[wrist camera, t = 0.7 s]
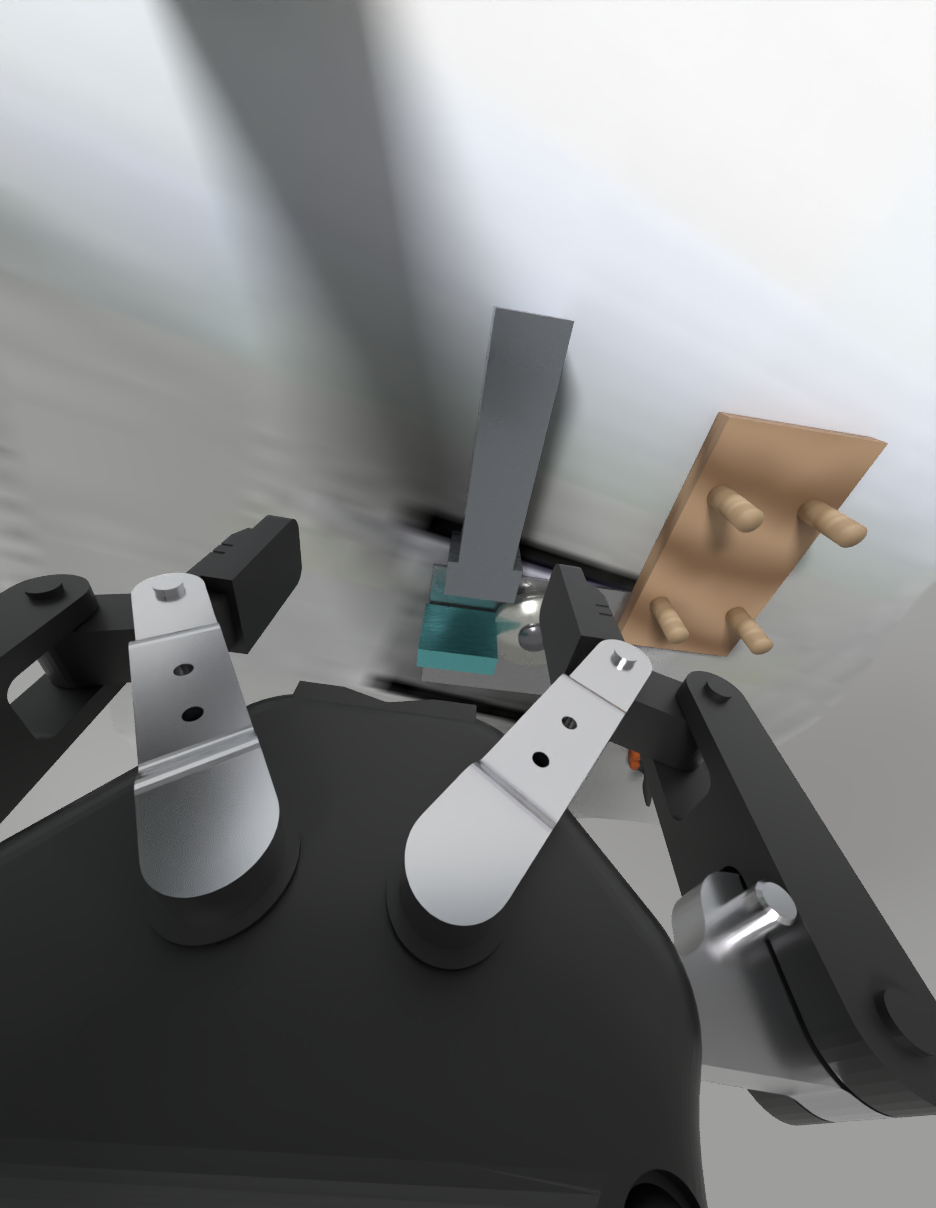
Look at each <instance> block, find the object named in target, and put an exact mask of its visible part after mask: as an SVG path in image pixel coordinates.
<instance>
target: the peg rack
mask: <svg viewBox="0 0 936 1208" xmlns="http://www.w3.org/2000/svg"><path fill="white" fill-rule="evenodd" d="M887 444H888V443H886V442H883V441H880V440H877V439H874V438H872V437H867V436H861V435H855V434H849V433H843V432H837V431H831V430H825V429H819V428H813V427H806V426H800V425H794V424H788V423H782V422H776V421H770V420H764V419H758V418H752V417H746V416H740V415H734V414H728V413H722V412H719V413H718V415H717V417H716V419H715V421H714V423H713V425H712V427H711V429H710V431H709V433H708V435H707V437H706V440H705V442H704V444H703V446H702V448H701V450H700V452H699V454H698V456H697V458H696V460H695V462H694V464H693V466H692V468H691V471H690V473H689V475H688V477H687V479H686V481H685V483H684V485H683V487H682V489H681V491H680V493H679V495H678V497H677V499H676V501H675V504H674V506H673V508H672V510H671V512H670V514H669V516H668V518H667V520H666V522H665V524H664V526H663V528H662V530H661V532H660V535H659V537H658V539H657V541H656V543H655V545H654V547H653V549H652V551H651V553H650V555H649V557H648V559H647V561H646V563H645V566H644V568H643V570H642V572H641V574H640V576H639V578H638V580H637V582H636V584H635V586H634V588H633V590H632V592H633V594H632V596H631V598H630V600H629V603H628V605H627V607H626V609H625V611H624V613H623V615H622V617H621V619H620V621H619V623H618V627H619V629H620V632H621V634H622V636H623V638H624V641H625V642H626V643H629V644H632V645H640V646H648V647H656V648H664V649H671V650H679V651H687V652H695V653H703V654H711V655H719V656H726V657H727V655H728V654H729V653H730V651H731V650H732V649H733V647H734V646H735V645H736V644H737V642H738V641H739V640H740V638H741V639H742V640H743V641H744V643H745V644H746V645H747V647H748V648H749V649H750V651H751V652H752V653H753V654H757V655H759V654H764V653H766V652H768V651H769V650H771V648H772V647H773V642H772V641H771V640H770V639H769V638H768V636H767V635H766V634H765V633H764V632H763V631H762V629H761V628H760V627H759V626H758V625H757V623H756V622H755V621H754V620H755V618H756V617H757V616H758V614H759V613H760V612H761V611H762V609H763V608H764V607H765V605H766V604H767V603H768V601H769V600H770V599H771V597H772V596H773V595H774V593H775V592H776V591H777V589H778V588H779V587H780V585H781V584H782V583H783V581H784V580H785V579H786V577H787V576H788V575H789V574H790V572H791V571H792V570H793V568H794V567H795V566H796V564H797V563H798V562H799V560H800V559H801V558H802V556H803V555H804V554H805V552H806V551H807V550H808V548H809V547H810V546H811V544H812V543H813V542H814V541H815V539H816V538H817V537H818V535H819V534H820V533H822V534H823V535H825V536H826V537H828V538H829V539H831V540H832V541H833V542H835V543H836V544H838V545H839V546H841V547H844V548H847V547H852V546H854V545H856V544H858V543H859V542H861V541H862V540H863V539H864V538H865V536H866V534H867V529H866V527H864V526H863V525H861V524H859V523H858V522H856V521H854V520H853V519H851V518H849V517H848V516H846V515H844V514H843V513H841V512H839V511H838V509H839V508H840V506H841V505H842V504H843V502H844V501H845V500H846V498H847V497H848V496H849V494H850V493H851V492H852V490H853V489H854V488H855V486H856V485H857V484H858V482H859V481H860V480H861V478H862V477H863V476H864V474H865V473H866V472H867V471H868V469H869V468H870V467H871V465H872V464H873V463H874V461H875V460H876V459H877V457H878V456H879V455H880V453H881V452H882V451H883V449H884V448H885V447H886V445H887Z"/></svg>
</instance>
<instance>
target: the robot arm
mask: <svg viewBox="0 0 936 1208" xmlns="http://www.w3.org/2000/svg"><path fill="white" fill-rule="evenodd" d="M301 570H302V563H301V551H300V539H299V528H298V524H297V521H296V520H295V519H290V518H284V517H278V516H272V515H268V516H266V517H265V518H264V519H263V520H262V521H260V522H259V523H258V524H257V525H256V526H255V527H254V528H252V529H251V528H247V529H244V530H242V531H239V532H237V533H234V534H232V535H231V536H229V537H228V538H227V539H226V540H225V541H223V542H222V544H221V545H219V546H218V547H216V548H215V549H214V550H213V553H212V552H210V553H209V554H208V555H207V556H206V557H204V558H203V559H202V560H201V561H200V562H198V563H197V564H196V565H195V566H194V567H192V568H191V569H190V570H189V571H188V572H186V573H168V574H162V575H158V576H154V577H151V578H148V579H146V580H144V581H142V582H141V583H139V584H138V585H136V586H135V587H134V589H133V590H132V592H131V594H107V595H94V593H93V591H92V588H91V586H90V584H89V582H88V581H87V580H86V579H84V578H82V577H80V576H75V575H66V574H58V575H48V576H42V577H37V578H33V579H29V580H26V581H23V582H21V583H18V584H16V585H14V586H12V587H10V588H9V589H7V590H5V591H4V592H2V593H0V823H1V822H2V821H3V820H4V819H5V818H6V817H7V816H8V815H9V813H10V812H11V811H12V810H13V809H14V808H15V807H16V806H17V804H18V803H19V802H20V801H21V800H22V799H23V798H24V797H25V795H26V794H27V793H28V792H29V791H30V790H31V789H32V788H33V787H34V786H35V784H36V783H37V782H38V781H39V780H40V779H41V778H42V777H43V775H44V774H45V773H46V772H47V771H48V770H49V769H50V768H51V766H52V765H53V764H54V763H55V762H56V761H57V760H58V759H59V758H60V756H61V755H62V754H63V753H64V752H65V751H66V750H67V749H68V748H69V746H70V745H71V744H72V743H73V742H74V741H75V740H76V739H77V737H78V736H79V735H80V734H81V733H82V732H83V731H84V730H85V729H86V727H87V726H88V725H89V724H90V723H91V722H92V721H93V720H94V719H95V717H96V716H97V715H98V714H99V713H100V712H101V711H102V710H103V709H104V707H105V706H106V705H107V704H108V703H109V702H110V701H111V700H112V699H113V697H114V696H115V695H116V694H117V693H118V692H119V691H120V690H121V689H122V687H123V686H124V685H125V684H126V683H128V682H131V684H132V696H133V708H134V720H135V732H136V744H137V756H138V766H137V767H135V768H133V769H131V770H129V771H128V772H126V773H124V774H122V775H121V776H119V777H117V778H115V779H113V780H111V781H110V782H108V783H107V784H104V785H103V786H101V787H99V788H97V789H95V790H94V791H92V792H90V793H88V794H86V795H84V796H83V797H81V798H79V799H77V800H75V801H74V802H72V803H70V804H68V805H67V806H65V807H63V808H61V809H59V810H58V811H56V812H54V813H52V814H50V815H49V816H47V817H45V818H43V819H41V820H40V821H38V822H36V823H34V824H32V825H31V826H29V827H27V828H25V829H24V830H22V831H20V832H18V833H16V834H14V835H13V836H11V837H9V838H7V839H5V840H4V841H2V842H0V1208H708V1207H707V1201H706V1193H705V1185H704V1177H703V1169H702V1161H701V1146H700V1131H699V1095H700V1082H701V1081H705V1082H711V1083H717V1084H722V1085H729V1086H734V1087H740V1088H746V1089H748V1091H749V1092H750V1093H751V1095H752V1096H753V1097H754V1098H755V1100H756V1101H757V1102H758V1103H759V1104H760V1105H761V1106H762V1107H763V1108H764V1109H765V1110H766V1111H767V1112H769V1113H770V1114H771V1115H772V1116H774V1117H775V1118H777V1119H779V1120H780V1121H782V1122H785V1123H787V1124H791V1125H809V1124H822V1123H834V1122H848V1121H861V1120H873V1119H886V1118H897V1117H912V1116H924V1115H936V1001H935V999H934V997H933V996H932V994H931V993H930V991H929V989H928V988H927V986H926V985H925V983H924V981H923V980H922V978H921V977H920V975H919V973H918V972H917V970H916V969H915V967H914V966H913V964H912V962H911V961H910V959H909V958H908V956H907V954H906V953H905V951H904V950H903V948H902V946H901V945H900V943H899V942H898V940H897V939H896V937H895V935H894V934H893V932H892V931H891V929H890V927H889V926H888V924H887V923H886V921H885V919H884V918H883V916H882V915H881V913H880V912H879V910H878V909H877V907H876V906H875V904H874V902H873V901H872V899H871V897H870V896H869V894H868V892H867V891H866V889H865V888H864V886H863V885H862V883H861V881H860V880H859V878H858V877H857V875H856V873H855V872H854V870H853V869H852V867H851V865H850V864H849V862H848V861H847V859H846V858H845V856H844V854H843V853H842V851H841V850H840V848H839V847H838V845H837V843H836V842H835V840H834V839H833V837H832V835H831V834H830V832H829V831H828V829H827V827H826V826H825V824H824V823H823V821H822V820H821V818H820V816H819V815H818V813H817V811H815V808H814V807H813V805H812V804H811V802H810V800H809V799H808V797H807V796H806V794H805V792H804V791H803V789H802V788H801V786H800V785H799V783H798V781H797V780H796V778H795V777H794V775H793V774H792V772H791V770H790V769H789V767H788V765H787V764H786V762H785V761H784V759H783V758H782V756H781V754H780V753H779V751H778V750H777V748H776V746H775V745H774V743H773V742H772V740H771V738H770V737H769V735H768V734H767V732H766V730H765V729H764V727H763V726H762V724H761V723H760V721H759V719H758V718H757V716H756V715H755V713H754V711H753V710H752V708H751V707H750V705H749V703H748V702H747V700H746V699H745V697H744V696H743V694H742V693H741V692H740V691H739V690H738V689H737V688H736V687H735V686H733V685H732V684H731V683H729V682H728V681H726V680H725V679H723V678H721V677H719V676H717V675H714V674H712V673H708V672H704V671H694V672H691V673H690V674H688V676H687V677H686V679H685V680H684V681H683V682H680V681H677V680H675V679H672V678H669V677H667V676H664V675H661V674H659V673H656V672H654V671H652V664H651V662H650V660H649V659H648V657H647V656H646V655H645V654H644V653H643V652H642V651H641V650H639V649H638V648H636V647H635V646H633V645H631V644H629V643H626V642H625V641H624V638H623V636H622V634H621V632H620V629H619V627H618V625H617V623H616V620H615V618H614V617H613V614H612V611H611V609H610V608H609V605H608V602H607V600H606V598H605V596H604V595H603V594H602V593H601V592H600V591H599V590H598V589H597V588H596V587H595V586H594V585H589V584H587V582H586V579H585V577H584V574H583V572H582V569H581V568H580V567H574V566H568V565H562V564H556V565H555V567H554V569H553V571H552V574H551V577H550V580H549V583H548V586H547V589H546V592H545V595H544V598H543V601H542V604H541V607H540V614H539V623H540V629H541V634H542V640H543V645H544V650H545V656H546V661H547V667H548V672H549V677H550V683H551V686H550V687H549V689H548V690H547V691H546V692H545V693H544V694H543V695H542V696H541V697H540V698H539V699H538V700H537V701H536V702H535V703H534V704H533V706H532V707H531V708H530V709H529V710H528V711H527V712H526V713H525V714H524V715H523V716H522V717H521V718H520V719H519V720H518V721H517V723H516V724H515V725H514V726H513V727H512V728H511V729H510V730H509V731H508V732H507V733H506V734H505V735H504V734H503V733H502V732H501V731H499V730H497V729H496V728H494V727H493V726H491V725H489V724H487V723H485V722H483V721H480V720H478V719H476V705H470V704H463V703H456V702H449V701H442V700H434V699H433V700H419V701H404V702H384V701H381V700H378V699H376V698H373V697H370V696H368V695H365V694H362V693H359V692H357V691H354V690H351V689H348V688H346V687H341V686H334V685H326V684H319V683H312V682H305V681H300V682H299V684H298V686H297V687H296V689H295V691H294V693H293V694H290V695H282V696H276V697H272V698H268V699H264V700H261V701H258V702H255V703H252V704H250V705H248V706H246V704H245V701H244V698H243V695H242V692H241V689H240V686H239V683H238V680H237V677H236V674H235V671H234V668H233V665H232V661H231V658H230V655H229V652H235V653H242V654H248V653H249V651H250V650H251V648H252V647H253V646H254V644H255V643H256V641H257V640H258V639H259V637H260V636H261V634H262V633H263V632H264V630H265V629H266V627H267V626H268V625H269V623H270V622H271V620H272V619H273V618H274V616H275V615H276V613H277V612H278V611H279V609H280V608H281V606H282V605H283V604H284V602H285V601H286V599H287V598H288V597H289V595H290V594H291V592H292V591H293V590H294V588H295V587H296V585H297V584H298V582H299V579H300V576H301ZM36 660H38V662H39V663H40V665H41V666H42V668H43V670H44V671H45V674H44V675H43V676H42V677H41V678H40V679H39V680H38V681H36V682H35V683H34V684H33V685H32V686H31V687H29V688H28V689H27V690H26V691H25V692H24V693H22V694H21V695H20V696H19V697H18V698H17V699H16V700H14V701H13V702H12V703H11V704H9V703H8V700H7V692H8V688H9V686H10V684H11V682H12V681H13V680H14V678H16V677H17V676H18V675H19V674H20V673H21V672H23V671H24V670H25V669H26V668H27V667H29V666H30V665H31V664H32V663H34V662H35V661H36ZM609 741H611V742H613V743H616V744H618V745H621V746H623V747H625V748H628V749H630V750H632V751H635V752H637V753H639V754H640V757H641V761H642V764H643V767H644V771H645V774H646V778H647V781H648V784H649V788H650V791H651V794H652V798H653V801H654V804H655V808H656V811H657V814H658V818H659V821H660V824H661V828H662V831H663V834H664V838H665V841H666V845H667V848H668V851H669V855H670V858H671V861H672V865H673V868H674V871H675V875H676V878H677V881H678V885H679V888H680V891H681V895H682V897H681V898H680V899H679V900H678V901H677V902H676V904H675V905H674V908H673V912H672V928H673V934H674V944H673V943H672V941H671V939H670V938H669V936H668V935H667V933H666V931H665V930H664V929H663V927H662V926H661V924H660V923H659V922H658V920H657V919H656V918H655V916H654V915H653V914H652V913H651V912H650V910H649V909H648V908H647V907H646V905H645V904H644V903H643V901H642V900H641V899H640V898H639V897H638V895H637V894H636V893H635V892H634V891H633V889H632V888H631V887H630V885H629V884H628V883H627V882H626V880H625V879H624V878H623V877H622V875H621V874H620V873H619V872H618V870H617V869H616V868H615V867H614V865H613V864H612V863H611V862H610V861H609V859H608V858H607V857H606V856H605V854H604V853H603V852H602V851H601V849H600V848H599V847H598V846H597V844H596V843H595V842H594V841H593V839H592V838H591V837H590V836H589V834H588V833H587V832H586V831H585V830H584V828H583V827H582V826H581V825H580V823H579V822H578V821H577V820H576V818H575V817H574V816H573V815H572V813H571V812H570V811H569V810H568V807H569V805H570V804H571V802H572V800H573V799H574V797H575V795H576V794H577V792H578V791H579V789H580V787H581V786H582V784H583V783H584V781H585V779H586V778H587V776H588V775H589V773H590V771H591V770H592V768H593V766H594V765H595V763H596V762H597V760H598V758H599V757H600V755H601V754H602V752H603V750H604V749H605V747H606V746H607V744H608V742H609ZM703 761H705V763H706V766H707V768H708V770H709V773H710V780H709V778H708V776H707V773H706V771H705V769H704V767H703V764H702V762H703ZM710 781H711V783H710Z"/></svg>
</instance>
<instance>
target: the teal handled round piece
mask: <svg viewBox="0 0 936 1208" xmlns="http://www.w3.org/2000/svg"><path fill="white" fill-rule="evenodd" d="M544 595H545V592H527V593H522V594H519V595H516V598H515V602H514V604H513V603H506V602H504V603H502V604H501V605H500V606H499V607H498V608H497V610H496V611H495V612H487V611H479V610H472V609H464V608H456V607H448V606H441V605H433V604H426V609H425V615H424V620H423V625H422V631H421V636H420V642H419V647H418V656H417V666H419V667H428V668H436V669H445V670H453V671H461V672H470V673H478V674H486V675H494V671H495V668H496V664H497V660H498V653H499V654H500V655H501V656H502V657H503V658H505V659H506V660H508V661H510V662H513V663H516V664H519V665H526V666H537V665H544V664H547V661H546V656H545V650H544V645H543V640H542V634H541V629H540V623H539V614H540V607H541V604H542V601H543V598H544Z"/></svg>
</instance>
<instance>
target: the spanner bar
mask: <svg viewBox="0 0 936 1208" xmlns="http://www.w3.org/2000/svg"><path fill="white" fill-rule="evenodd" d="M573 324H574V321H571V320H567V319H562V318H558V317H552V316H546V315H541V314H535V313H529V312H524V311H518V310H512V309H507V308H501V307H495V306H494V309H493V316H492V323H491V330H490V337H489V344H488V351H487V357H486V364H485V371H484V378H483V385H482V392H481V399H480V406H479V413H478V420H477V427H476V434H475V441H474V448H473V455H472V462H471V469H470V476H469V483H468V489H467V496H466V503H465V510H464V517H463V524H462V531H457V530H452V537H451V544H450V552H449V559H448V566H447V574H446V582H445V590H444V594H445V595H453V596H460V597H468V598H475V599H483V600H490V601H498V602H506V603H513V604H514V602H515V598H516V595H517V591H518V587H519V583H520V580H521V576H522V572H523V571H522V564H521V556H520V549H519V542H520V538H521V534H522V530H523V526H524V522H525V518H526V514H527V510H528V506H529V502H530V498H531V494H532V490H533V486H534V481H535V477H536V473H537V469H538V465H539V461H540V457H541V453H542V449H543V445H544V441H545V437H546V433H547V429H548V425H549V421H550V417H551V413H552V409H553V405H554V401H555V397H556V393H557V388H558V384H559V380H560V376H561V372H562V368H563V364H564V360H565V356H566V352H567V348H568V344H569V340H570V336H571V332H572V328H573Z"/></svg>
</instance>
